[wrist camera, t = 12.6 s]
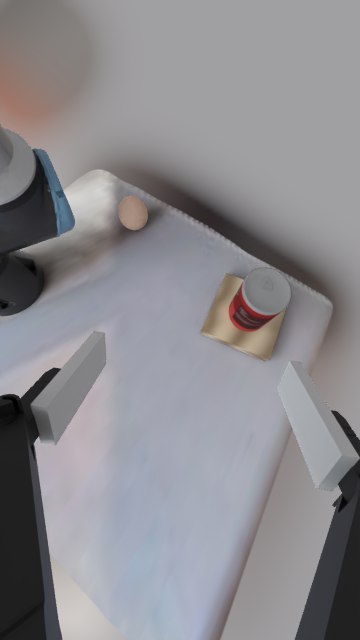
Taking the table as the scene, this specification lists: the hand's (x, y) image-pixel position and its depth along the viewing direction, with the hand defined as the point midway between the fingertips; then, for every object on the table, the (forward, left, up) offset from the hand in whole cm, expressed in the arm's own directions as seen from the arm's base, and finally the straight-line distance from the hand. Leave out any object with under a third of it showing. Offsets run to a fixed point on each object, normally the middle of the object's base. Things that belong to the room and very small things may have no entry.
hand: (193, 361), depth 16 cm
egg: (-26, +29, -29) cm, 49 cm away
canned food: (+6, +17, -26) cm, 32 cm away
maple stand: (+6, +17, -29) cm, 34 cm away
